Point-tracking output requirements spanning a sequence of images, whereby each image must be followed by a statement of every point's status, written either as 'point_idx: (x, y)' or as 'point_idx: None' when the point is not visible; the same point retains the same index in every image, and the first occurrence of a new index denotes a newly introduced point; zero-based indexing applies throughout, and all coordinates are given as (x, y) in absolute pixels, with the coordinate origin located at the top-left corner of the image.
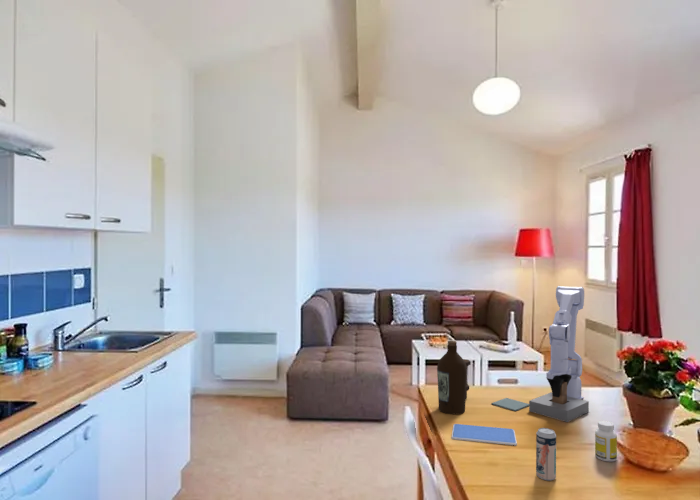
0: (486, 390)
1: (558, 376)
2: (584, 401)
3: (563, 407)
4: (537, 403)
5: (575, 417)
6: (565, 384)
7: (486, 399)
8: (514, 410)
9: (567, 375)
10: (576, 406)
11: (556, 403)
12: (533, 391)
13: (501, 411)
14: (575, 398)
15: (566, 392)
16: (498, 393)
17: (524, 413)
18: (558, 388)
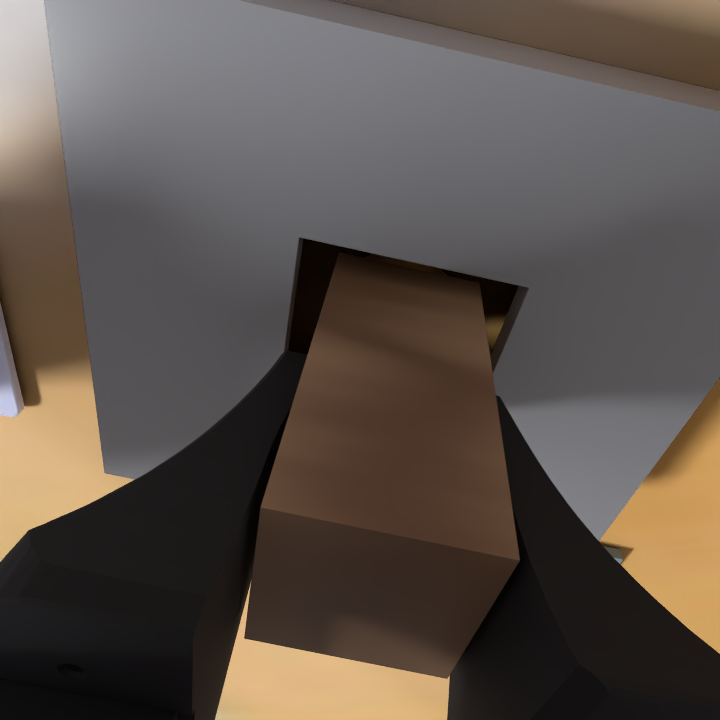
0: (261, 701)
1: (208, 711)
2: (115, 26)
3: (687, 247)
4: (620, 506)
5: (552, 53)
6: (345, 487)
7: (442, 684)
8: (615, 559)
9: (112, 668)
10: (519, 79)
11: (525, 359)
12: (9, 537)
13: (669, 607)
14: (87, 200)
15: (325, 355)
16: (263, 660)
17: (642, 498)
18: (567, 519)
